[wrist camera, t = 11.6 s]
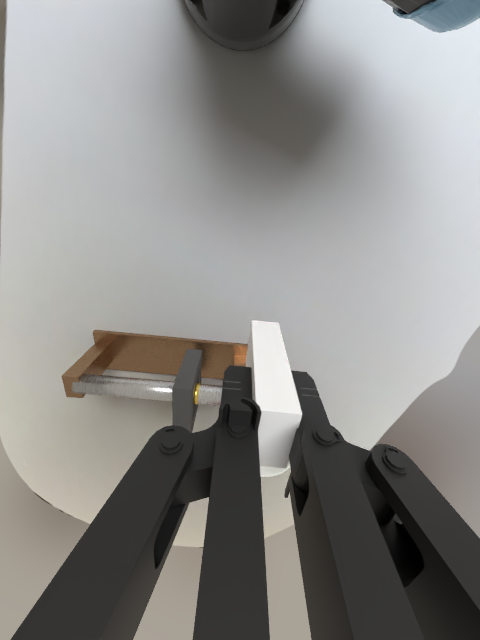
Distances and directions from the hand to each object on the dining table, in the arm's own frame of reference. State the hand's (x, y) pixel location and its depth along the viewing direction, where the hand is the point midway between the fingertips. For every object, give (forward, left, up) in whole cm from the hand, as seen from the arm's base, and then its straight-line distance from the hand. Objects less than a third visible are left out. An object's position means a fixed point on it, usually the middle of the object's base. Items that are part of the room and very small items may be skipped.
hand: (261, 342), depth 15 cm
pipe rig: (+21, -12, -29) cm, 38 cm away
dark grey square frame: (+21, -8, -24) cm, 33 cm away
